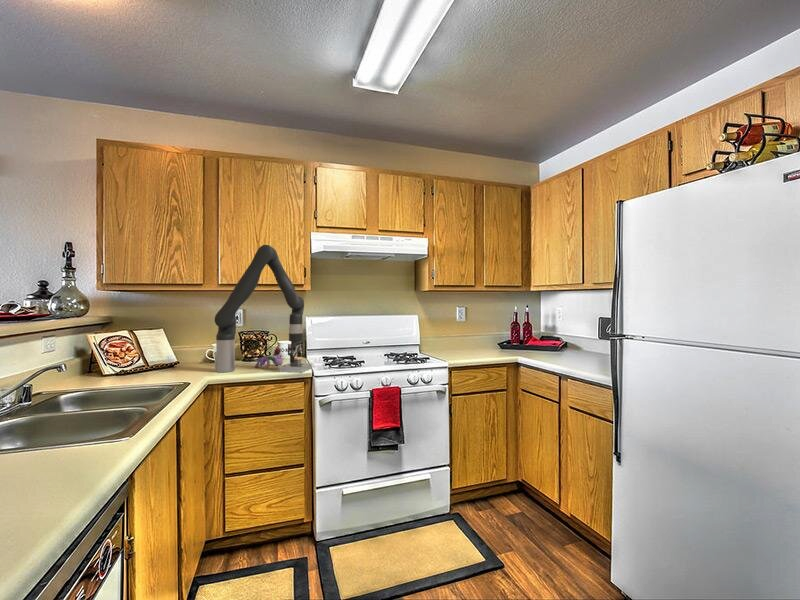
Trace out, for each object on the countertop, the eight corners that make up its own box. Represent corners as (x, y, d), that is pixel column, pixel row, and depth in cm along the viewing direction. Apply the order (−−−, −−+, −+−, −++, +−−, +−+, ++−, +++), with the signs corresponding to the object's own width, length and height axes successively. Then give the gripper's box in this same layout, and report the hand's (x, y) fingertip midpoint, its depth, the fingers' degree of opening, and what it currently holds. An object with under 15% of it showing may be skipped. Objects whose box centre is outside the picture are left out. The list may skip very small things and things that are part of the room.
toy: (282, 376, 225) (291, 352, 231) (264, 368, 214) (274, 343, 220) (270, 374, 230) (279, 351, 236) (251, 366, 219) (262, 342, 225)
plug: (290, 371, 211) (290, 357, 211) (294, 369, 215) (294, 356, 215) (297, 371, 210) (297, 358, 210) (301, 369, 214) (301, 357, 214)
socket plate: (279, 372, 208) (279, 366, 208) (290, 367, 220) (290, 362, 220) (301, 372, 205) (301, 366, 205) (311, 368, 218) (311, 363, 218)
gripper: (295, 331, 221) (295, 359, 220) (283, 333, 207) (283, 363, 206) (307, 331, 219) (307, 360, 219) (296, 333, 205) (296, 363, 205)
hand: (295, 361), depth 213 cm, fingers open, 8 cm apart
